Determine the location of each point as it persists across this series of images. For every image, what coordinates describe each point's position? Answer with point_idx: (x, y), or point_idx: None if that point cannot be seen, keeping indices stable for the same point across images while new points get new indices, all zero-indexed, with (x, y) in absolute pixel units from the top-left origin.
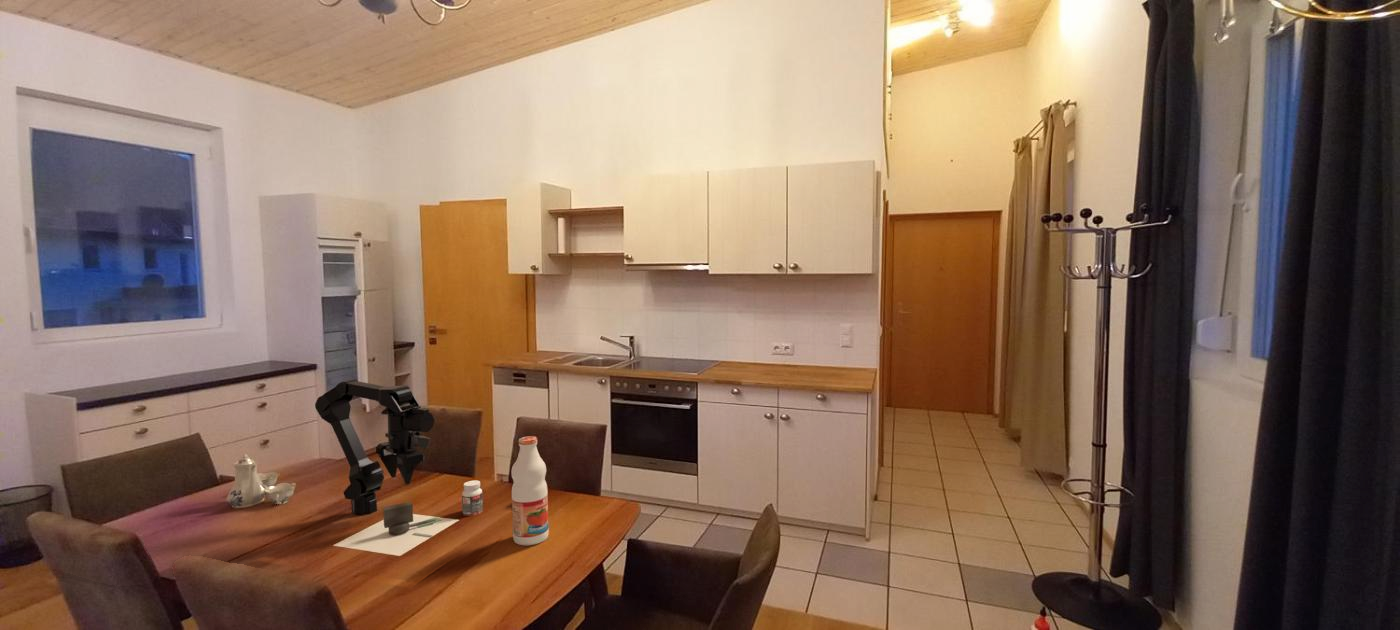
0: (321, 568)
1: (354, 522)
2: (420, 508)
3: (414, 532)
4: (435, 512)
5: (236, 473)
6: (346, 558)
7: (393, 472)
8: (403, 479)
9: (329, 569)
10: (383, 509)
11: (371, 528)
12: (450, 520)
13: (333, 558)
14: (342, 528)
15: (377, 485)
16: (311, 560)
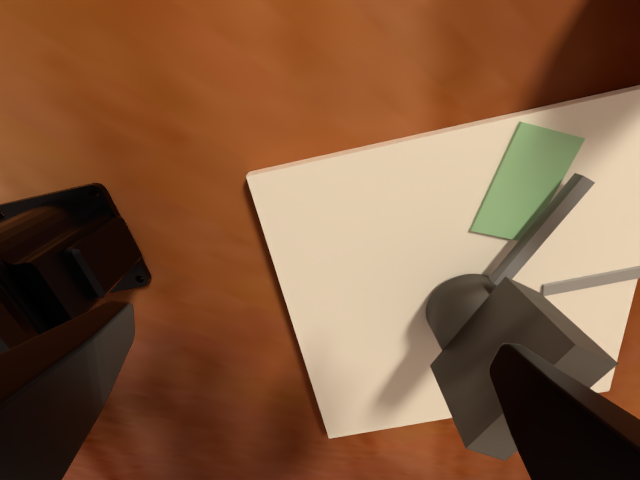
0: (412, 473)
1: (153, 308)
2: (264, 34)
3: (533, 279)
4: (413, 32)
5: None
6: (425, 432)
7: (99, 377)
8: (530, 457)
9: (437, 468)
10: (483, 451)
11: (319, 334)
12: (636, 110)
13: (388, 445)
14: (179, 353)
15: (11, 306)
16: (342, 468)
